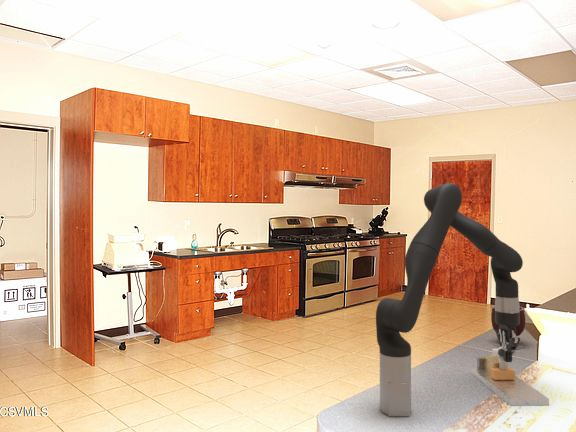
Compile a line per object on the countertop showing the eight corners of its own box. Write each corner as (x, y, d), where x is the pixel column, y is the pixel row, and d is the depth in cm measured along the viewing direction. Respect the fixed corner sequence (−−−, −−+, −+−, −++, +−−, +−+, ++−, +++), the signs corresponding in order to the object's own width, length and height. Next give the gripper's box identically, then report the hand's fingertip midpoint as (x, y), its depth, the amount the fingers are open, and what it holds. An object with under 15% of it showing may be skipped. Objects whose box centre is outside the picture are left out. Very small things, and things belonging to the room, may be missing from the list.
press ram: (514, 379, 160) (514, 349, 160) (494, 379, 160) (494, 349, 160) (510, 376, 163) (510, 347, 163) (490, 376, 163) (490, 347, 163)
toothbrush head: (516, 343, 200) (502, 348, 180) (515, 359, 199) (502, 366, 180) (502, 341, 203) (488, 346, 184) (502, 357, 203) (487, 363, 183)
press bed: (549, 405, 144) (548, 385, 144) (510, 405, 144) (510, 385, 144) (503, 372, 174) (503, 356, 174) (470, 372, 174) (470, 356, 174)
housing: (507, 377, 163) (507, 363, 163) (493, 377, 163) (493, 363, 163) (497, 369, 171) (496, 356, 171) (483, 370, 171) (483, 356, 171)
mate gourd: (520, 351, 200) (520, 305, 200) (487, 346, 209) (486, 301, 210) (530, 344, 212) (529, 300, 212) (497, 339, 221) (497, 296, 221)
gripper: (487, 306, 165) (488, 356, 164) (505, 313, 151) (506, 367, 151) (508, 306, 165) (509, 356, 164) (528, 313, 151) (529, 367, 151)
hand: (507, 361), depth 158 cm, fingers closed
